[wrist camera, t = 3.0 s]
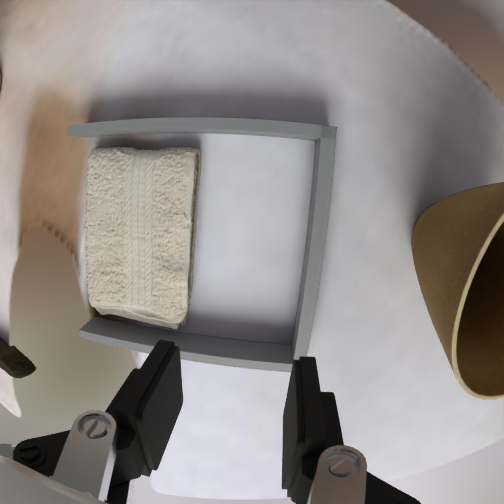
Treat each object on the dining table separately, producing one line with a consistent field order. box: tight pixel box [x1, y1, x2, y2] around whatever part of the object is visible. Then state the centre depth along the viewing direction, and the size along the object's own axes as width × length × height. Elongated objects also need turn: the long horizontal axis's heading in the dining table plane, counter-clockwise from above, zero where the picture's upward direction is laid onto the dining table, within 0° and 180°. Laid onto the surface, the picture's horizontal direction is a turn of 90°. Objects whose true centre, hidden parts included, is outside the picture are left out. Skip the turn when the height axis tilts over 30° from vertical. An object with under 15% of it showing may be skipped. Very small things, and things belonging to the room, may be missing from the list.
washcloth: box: [85, 147, 201, 329], centre depth 29 cm, size 12×18×3 cm, turn 174°
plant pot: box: [412, 182, 504, 399], centre depth 20 cm, size 15×15×16 cm
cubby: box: [67, 117, 337, 372], centre depth 28 cm, size 22×24×4 cm
